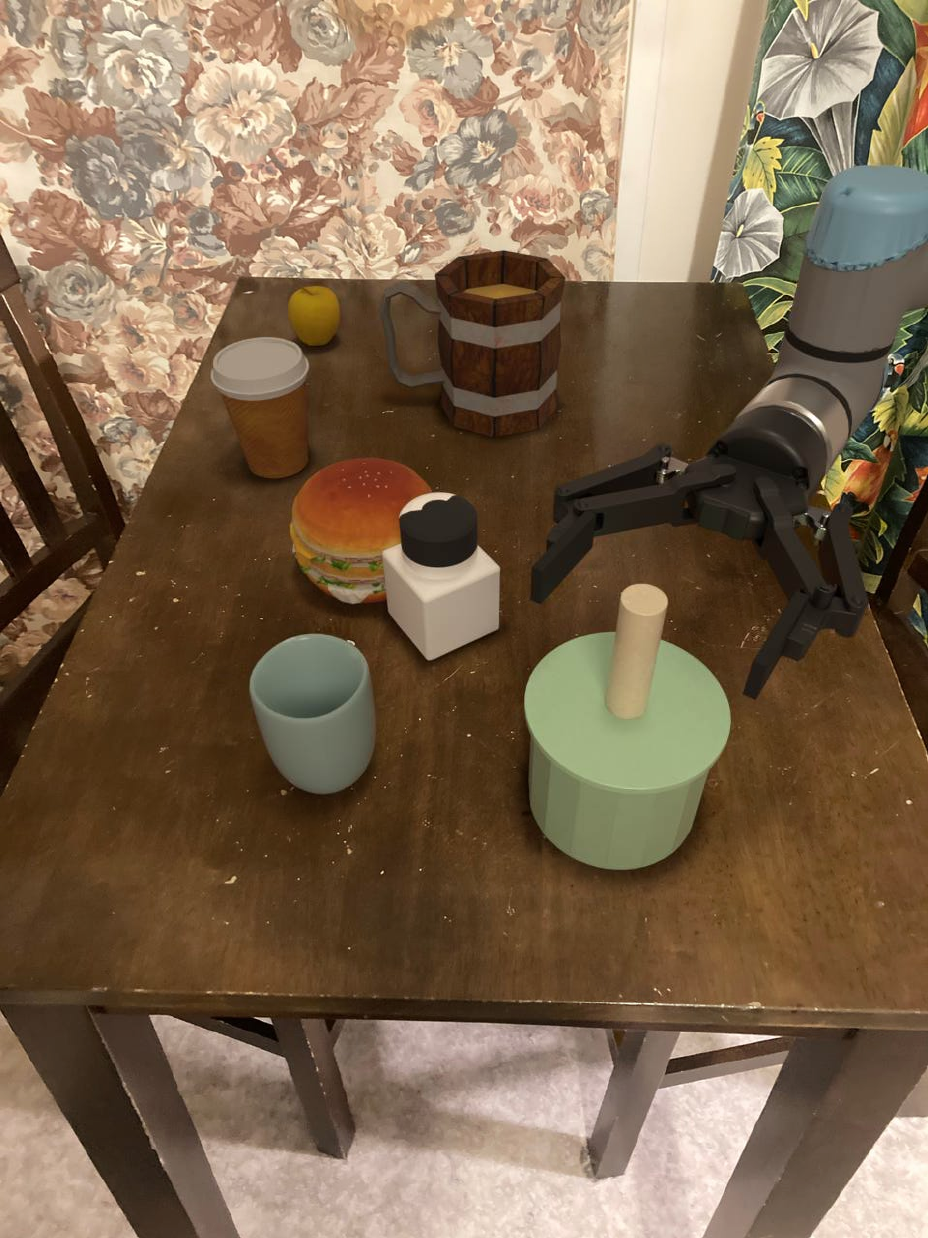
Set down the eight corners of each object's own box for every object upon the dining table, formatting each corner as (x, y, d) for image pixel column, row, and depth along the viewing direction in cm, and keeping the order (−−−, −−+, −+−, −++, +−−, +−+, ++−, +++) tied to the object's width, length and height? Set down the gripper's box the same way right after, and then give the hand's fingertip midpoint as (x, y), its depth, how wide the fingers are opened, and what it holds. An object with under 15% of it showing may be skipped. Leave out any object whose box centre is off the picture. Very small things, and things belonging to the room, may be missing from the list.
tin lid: (742, 672, 57) (778, 555, 50) (705, 829, 49) (742, 715, 42) (558, 624, 61) (568, 508, 54) (494, 762, 53) (495, 646, 46)
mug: (558, 377, 104) (566, 251, 93) (556, 439, 94) (564, 306, 84) (396, 372, 105) (386, 247, 95) (378, 433, 96) (364, 301, 85)
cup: (341, 828, 60) (321, 738, 53) (253, 783, 63) (223, 692, 56) (401, 748, 65) (390, 656, 58) (317, 710, 67) (297, 618, 60)
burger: (429, 624, 74) (423, 532, 67) (276, 610, 76) (255, 519, 69) (453, 527, 84) (450, 437, 76) (317, 516, 85) (301, 428, 78)
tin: (708, 758, 63) (734, 671, 57) (674, 894, 56) (699, 812, 49) (557, 713, 67) (565, 626, 60) (505, 836, 59) (507, 752, 52)
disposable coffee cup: (341, 459, 92) (327, 355, 84) (270, 499, 87) (246, 392, 79) (286, 427, 97) (267, 325, 89) (215, 463, 92) (188, 359, 84)
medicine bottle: (500, 630, 73) (502, 517, 65) (428, 663, 71) (420, 551, 62) (456, 582, 78) (453, 471, 69) (386, 612, 75) (374, 501, 67)
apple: (285, 352, 110) (274, 290, 104) (306, 329, 114) (297, 269, 108) (332, 358, 108) (323, 296, 103) (351, 335, 112) (344, 274, 107)
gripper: (940, 557, 59) (841, 771, 46) (612, 445, 69) (460, 596, 57) (984, 464, 53) (886, 678, 41) (622, 358, 64) (457, 504, 52)
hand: (638, 631), depth 49 cm, fingers open, 13 cm apart
